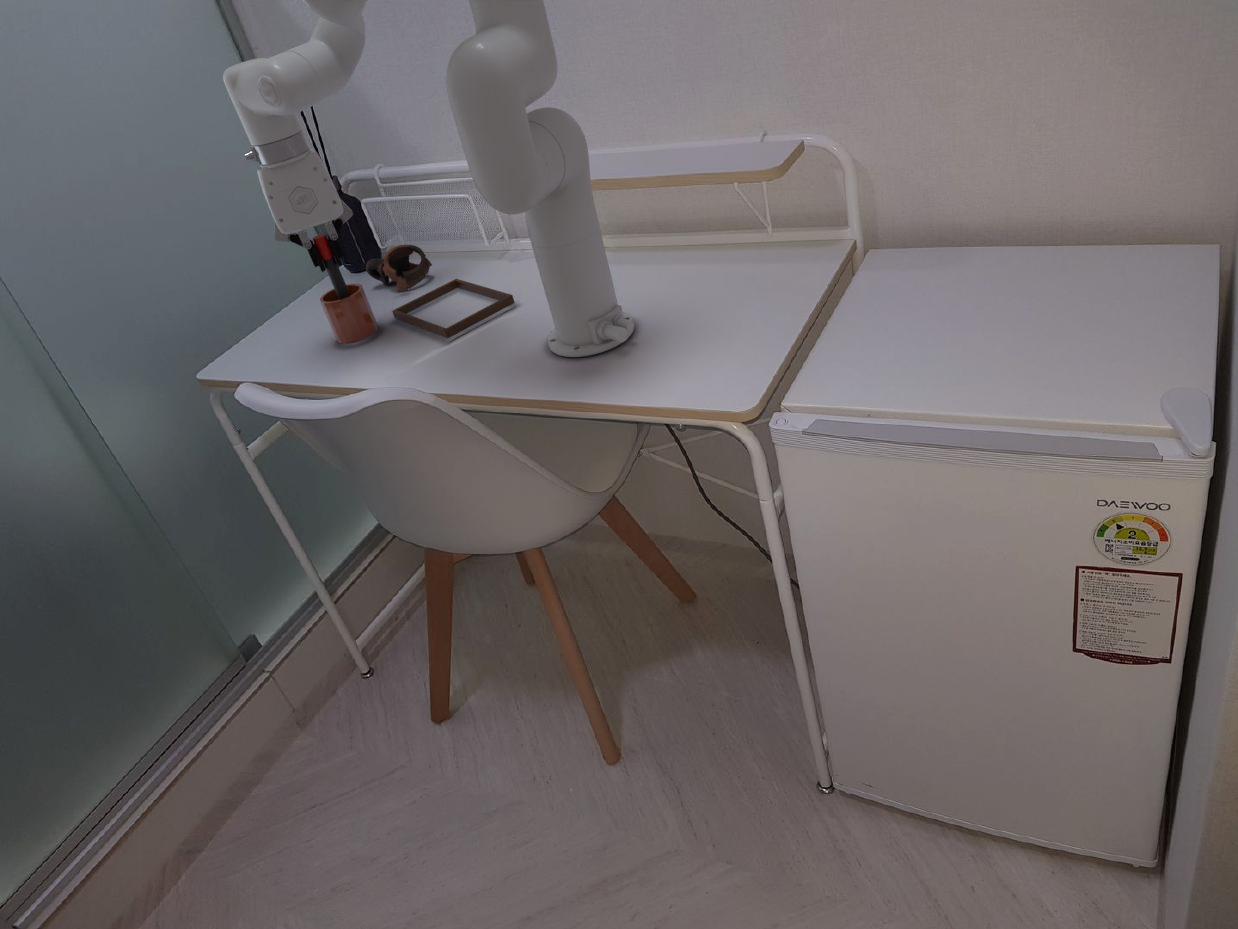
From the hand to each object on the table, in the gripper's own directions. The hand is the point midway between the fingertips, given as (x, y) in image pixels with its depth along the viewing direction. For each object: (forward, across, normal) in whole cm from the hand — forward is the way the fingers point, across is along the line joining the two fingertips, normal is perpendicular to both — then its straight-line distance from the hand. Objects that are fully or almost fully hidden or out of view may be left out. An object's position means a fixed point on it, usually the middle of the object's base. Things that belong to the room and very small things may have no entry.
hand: (331, 265), depth 145 cm
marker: (+9, 0, 0) cm, 9 cm away
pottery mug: (+13, +11, +17) cm, 24 cm away
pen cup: (+13, 0, 0) cm, 13 cm away
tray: (+13, +15, -5) cm, 21 cm away
